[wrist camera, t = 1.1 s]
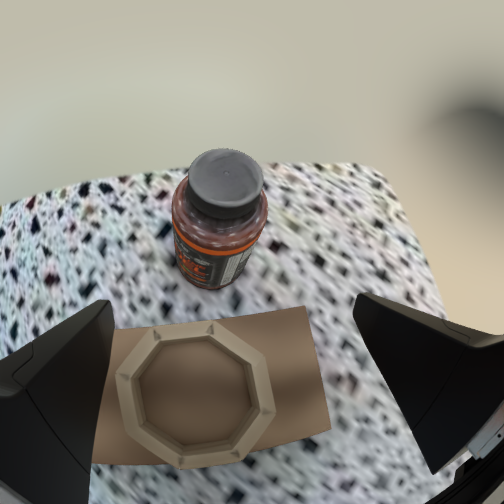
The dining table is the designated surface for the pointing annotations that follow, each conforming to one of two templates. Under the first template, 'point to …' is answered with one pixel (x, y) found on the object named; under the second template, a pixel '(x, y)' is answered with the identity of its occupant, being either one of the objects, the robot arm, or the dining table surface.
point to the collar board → (210, 391)
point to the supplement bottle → (218, 217)
